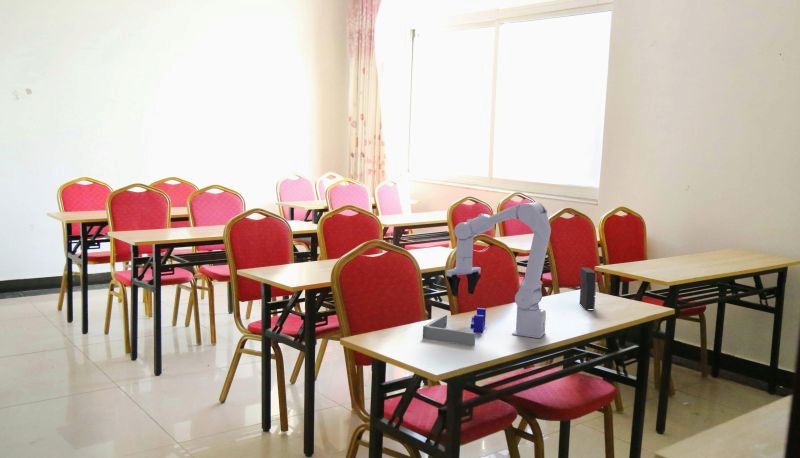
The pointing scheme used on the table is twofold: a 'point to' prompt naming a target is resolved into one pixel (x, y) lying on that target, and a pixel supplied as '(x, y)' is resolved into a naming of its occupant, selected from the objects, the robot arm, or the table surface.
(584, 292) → the dark grey rectangular block
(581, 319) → the table surface
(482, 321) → the cable clip
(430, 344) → the table surface
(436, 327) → the corner bracket
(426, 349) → the table surface
